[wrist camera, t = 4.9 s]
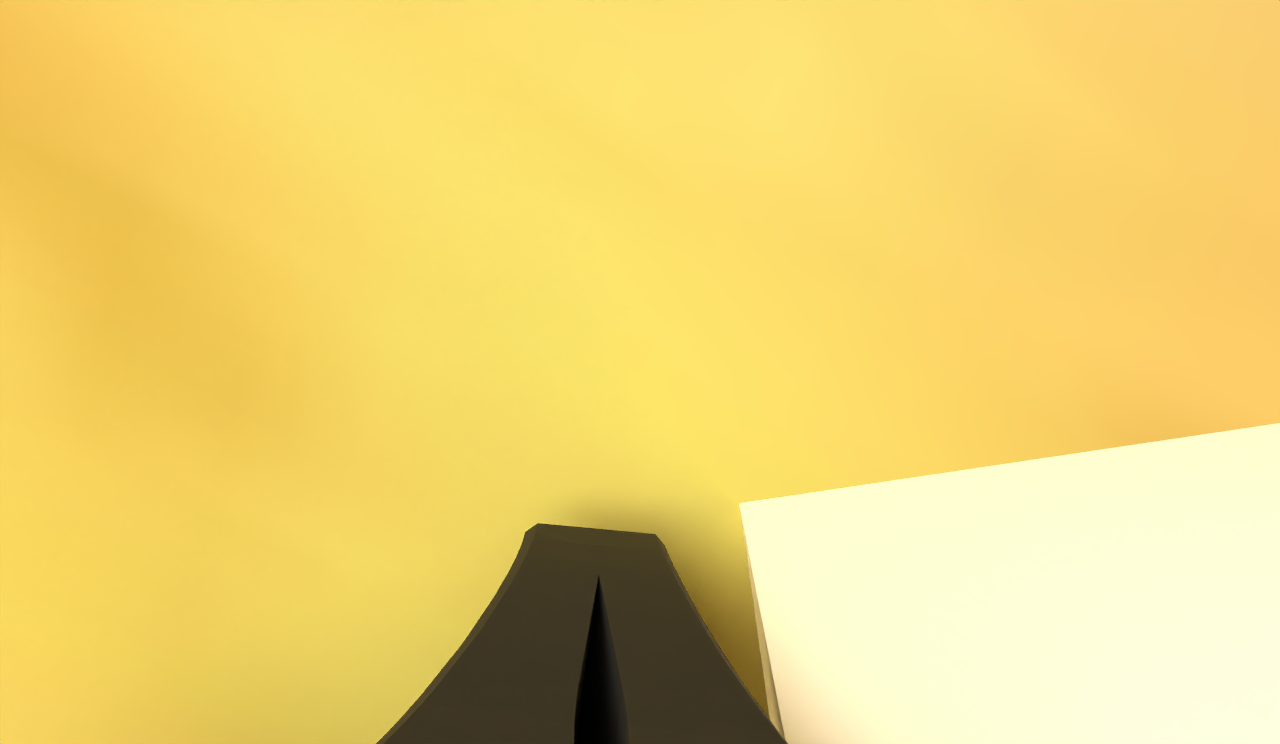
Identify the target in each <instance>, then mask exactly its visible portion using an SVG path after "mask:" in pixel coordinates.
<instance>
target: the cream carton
mask: <svg viewBox="0 0 1280 744" xmlns="http://www.w3.org/2000/svg"><path fill="white" fill-rule="evenodd" d="M739 505H740V512H741V519H742V527H743V534H744V541H745V548H746V555H747V562H748V569H749V576H750V583H751V590H752V597H753V604H754V611H755V618H756V625H757V632H758V640H759V647H760V654H761V661H762V668H763V675H764V682H765V689H766V696H767V703H768V710H769V717H770V721H771V722H772V724H773V725H774V726H775V728H776V729H777V730H778V732H779V733H780V734H781V735H782V737H783V738H784V739H785V740H786V742H787V743H788V744H1280V423H1278V424H1271V425H1265V426H1258V427H1251V428H1244V429H1238V430H1231V431H1224V432H1217V433H1211V434H1204V435H1197V436H1190V437H1184V438H1177V439H1170V440H1163V441H1157V442H1150V443H1143V444H1136V445H1130V446H1123V447H1116V448H1109V449H1103V450H1096V451H1089V452H1082V453H1076V454H1069V455H1062V456H1055V457H1049V458H1042V459H1035V460H1028V461H1022V462H1015V463H1008V464H1001V465H995V466H988V467H981V468H974V469H968V470H961V471H954V472H948V473H941V474H934V475H927V476H921V477H914V478H907V479H900V480H894V481H887V482H880V483H873V484H867V485H860V486H853V487H846V488H840V489H833V490H826V491H819V492H813V493H806V494H799V495H792V496H786V497H779V498H772V499H765V500H759V501H752V502H745V503H739Z"/></svg>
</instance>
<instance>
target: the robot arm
mask: <svg viewBox="0 0 1280 744" xmlns="http://www.w3.org/2000/svg"><path fill="white" fill-rule="evenodd" d="M376 744H788V743H787V742H786V740H785V739H784V738H783V737H782V735H781V734H780V733H779V732H778V730H777V729H776V728H775V726H774V725H773V724H772V722H771V721H770V720H769V718H768V717H767V716H766V714H765V713H764V711H763V710H762V709H761V707H760V706H759V705H758V703H757V702H756V701H755V699H754V698H753V697H752V695H751V694H750V692H749V691H748V689H747V688H746V687H745V685H744V684H743V682H742V681H741V679H740V678H739V676H738V675H737V674H736V672H735V670H734V669H733V667H732V666H731V664H730V663H729V661H728V660H727V658H726V656H725V655H724V653H723V652H722V650H721V649H720V647H719V645H718V644H717V642H716V641H715V639H714V638H713V636H712V634H711V633H710V631H709V630H708V628H707V626H706V625H705V623H704V621H703V619H702V618H701V616H700V614H699V613H698V611H697V609H696V607H695V605H694V604H693V602H692V600H691V598H690V596H689V595H688V593H687V591H686V589H685V587H684V585H683V583H682V581H681V580H680V578H679V576H678V574H677V572H676V570H675V568H674V566H673V563H672V561H671V559H670V557H669V555H668V553H667V550H666V548H665V546H664V544H663V543H662V542H661V541H660V539H659V538H658V537H657V536H656V535H655V534H647V533H636V532H625V531H614V530H604V529H593V528H582V527H571V526H561V525H550V524H539V523H538V524H536V525H535V526H533V527H532V528H531V529H529V530H528V531H526V532H525V535H524V539H523V542H522V545H521V547H520V550H519V552H518V554H517V557H516V559H515V561H514V563H513V565H512V567H511V569H510V570H509V572H508V574H507V576H506V578H505V579H504V581H503V583H502V584H501V586H500V588H499V590H498V591H497V593H496V595H495V596H494V598H493V599H492V601H491V602H490V604H489V605H488V607H487V608H486V610H485V611H484V613H483V614H482V616H481V617H480V619H479V620H478V622H477V623H476V625H475V626H474V628H473V629H472V631H471V632H470V634H469V635H468V637H467V638H466V639H465V641H464V642H463V643H462V645H461V646H460V647H459V649H458V650H457V651H456V653H455V654H454V655H453V656H452V658H451V659H450V660H449V661H448V663H447V664H446V665H445V666H444V668H443V669H442V670H441V671H440V673H439V674H438V675H437V676H436V678H435V679H434V680H433V681H432V683H431V684H430V685H429V686H428V688H427V689H426V690H425V691H424V693H423V694H422V695H421V696H420V697H419V698H418V699H417V701H416V702H415V703H414V704H413V705H412V706H411V707H410V708H409V710H408V711H407V712H406V713H405V714H404V715H403V716H402V717H401V718H400V720H399V721H398V722H397V723H396V724H395V725H394V726H393V727H392V728H391V729H390V730H389V731H388V732H387V733H386V734H385V735H384V736H383V737H382V738H381V739H380V740H379V741H378V742H377V743H376Z"/></svg>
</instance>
